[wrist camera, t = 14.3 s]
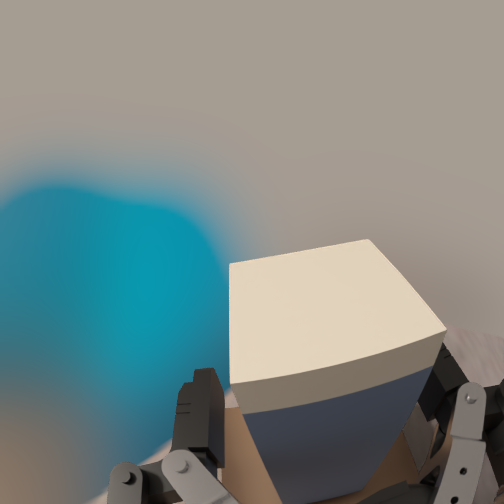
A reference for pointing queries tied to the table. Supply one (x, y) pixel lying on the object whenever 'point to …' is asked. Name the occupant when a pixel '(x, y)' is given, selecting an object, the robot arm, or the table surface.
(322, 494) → the carton
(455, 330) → the table surface
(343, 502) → the display plinth
